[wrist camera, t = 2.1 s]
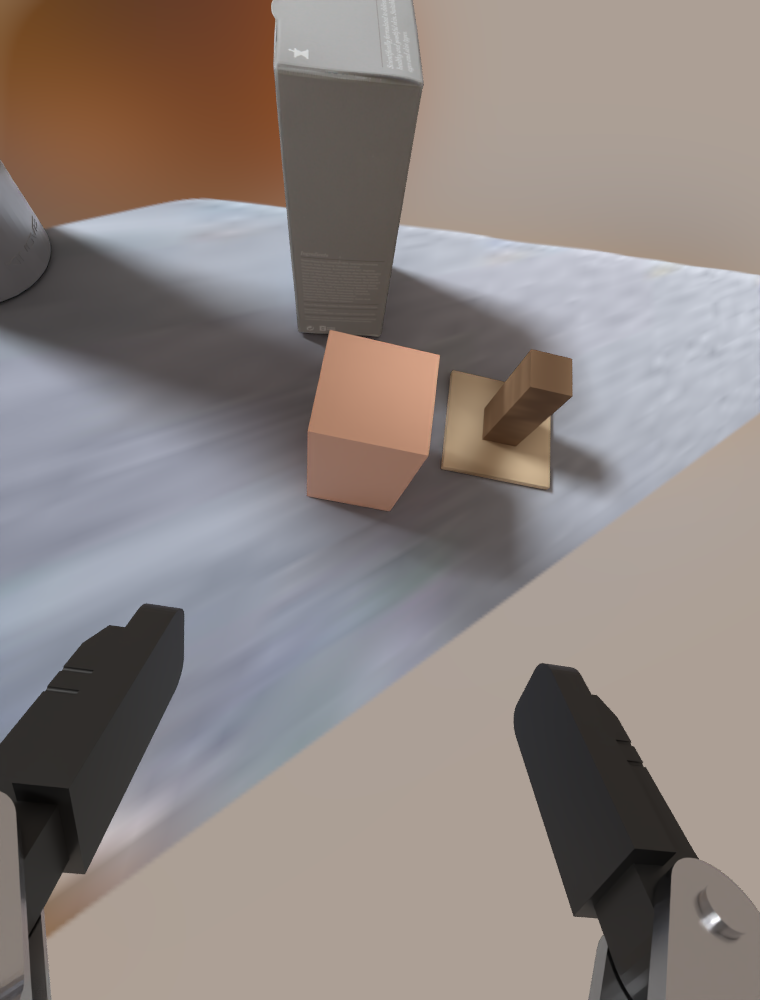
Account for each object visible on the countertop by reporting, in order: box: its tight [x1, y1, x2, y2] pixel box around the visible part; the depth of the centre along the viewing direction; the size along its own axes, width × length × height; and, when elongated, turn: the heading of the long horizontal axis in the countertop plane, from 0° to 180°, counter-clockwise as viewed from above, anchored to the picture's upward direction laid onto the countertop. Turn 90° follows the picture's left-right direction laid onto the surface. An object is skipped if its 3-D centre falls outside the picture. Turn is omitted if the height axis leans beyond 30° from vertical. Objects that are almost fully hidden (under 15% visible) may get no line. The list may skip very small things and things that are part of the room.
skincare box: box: [272, 0, 424, 337], centre depth 26 cm, size 8×7×16 cm
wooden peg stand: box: [441, 349, 572, 490], centre depth 28 cm, size 8×8×8 cm
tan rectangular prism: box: [307, 330, 440, 511], centre depth 25 cm, size 6×6×10 cm
